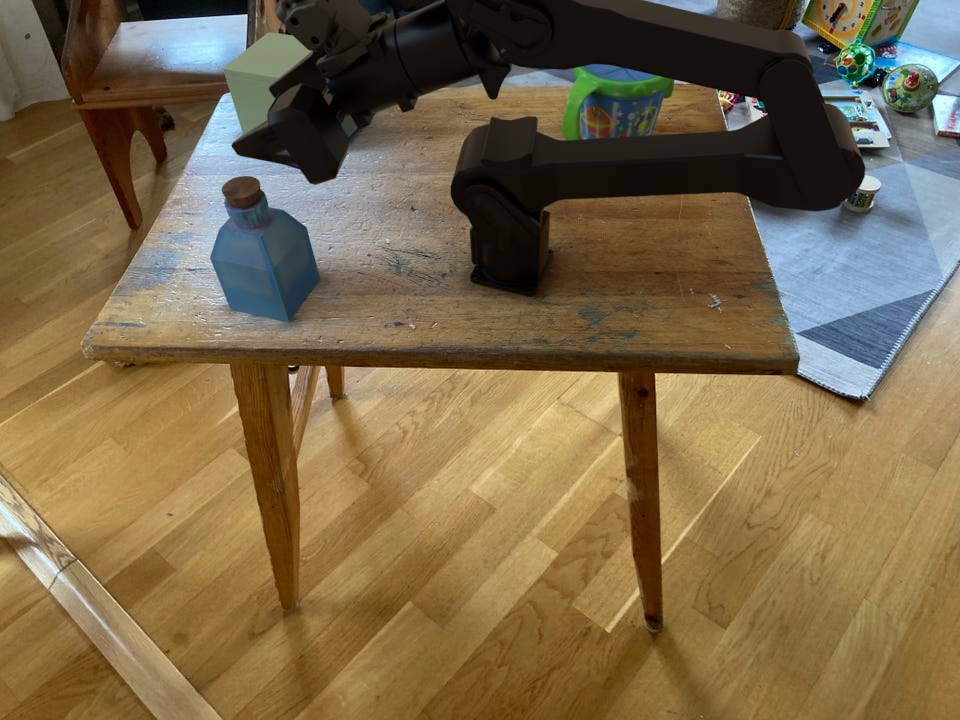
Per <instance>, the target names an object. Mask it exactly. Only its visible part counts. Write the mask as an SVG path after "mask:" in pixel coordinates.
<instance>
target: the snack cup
mask: <svg viewBox="0 0 960 720" xmlns="http://www.w3.org/2000/svg"><path fill="white" fill-rule="evenodd" d="M573 75H574V79H575V81H574V83H573V85H572V86H571V90H570V91H569V94H568V97H567V100H566V103H565V106H564V111H563V116H562V119H561V125H560V129H561V133H562V135H563V137H564V138H565V140H581V139H598V138H615V137H632V136H648V135H653V133H654V130H655V126H656V124H657V121H658V118H659V115H660V111H661V109H662V105H663V102H664V99H669V98H670V97H672V95H673V92H674V90H675V80H673V79H669V78H665V77H660V76H656V75H652V74H647V73H643V72H639V71H635V70H630V69H626V68H622V67H617V66H613V65H601V64H592V65H587V66H582V67H577V68H573Z"/></svg>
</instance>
